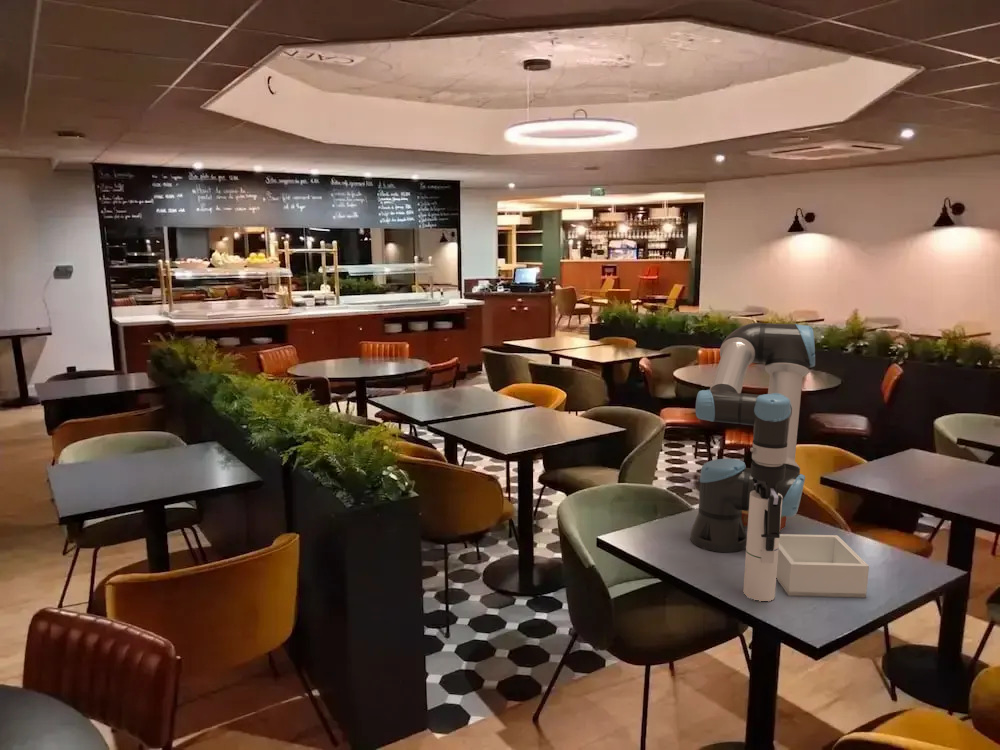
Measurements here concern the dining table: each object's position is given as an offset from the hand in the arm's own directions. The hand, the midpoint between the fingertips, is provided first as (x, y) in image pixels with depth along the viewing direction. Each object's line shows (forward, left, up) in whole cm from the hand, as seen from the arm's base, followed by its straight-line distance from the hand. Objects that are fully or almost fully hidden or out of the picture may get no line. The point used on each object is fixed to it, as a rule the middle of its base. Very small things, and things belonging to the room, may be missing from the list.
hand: (761, 554), depth 170 cm
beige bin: (-9, +16, -10) cm, 21 cm away
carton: (-45, +12, -11) cm, 48 cm away
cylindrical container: (0, 0, -10) cm, 10 cm away
